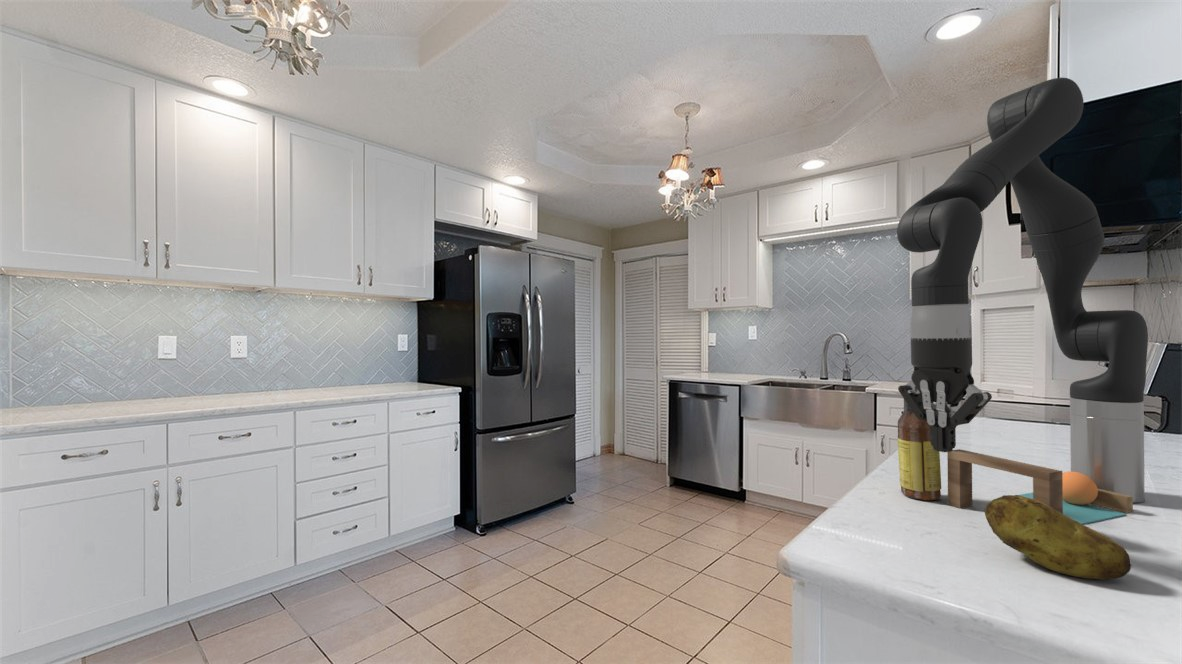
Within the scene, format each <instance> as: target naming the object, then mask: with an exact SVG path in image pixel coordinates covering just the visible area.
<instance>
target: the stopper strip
mask: <svg viewBox="0 0 1182 664" xmlns="http://www.w3.org/2000/svg"><path fill="white" fill-rule="evenodd" d="M1089 505H1092V506H1096V507H1100V508H1104V509H1108V510H1112V511H1116V512H1120V513H1124V514H1126V513H1127V514H1129V513H1133V512H1134V509H1133V508H1134V503H1133V497H1132V496H1128V495H1123V494H1119V493H1115V492H1110V491H1106V490H1101V489H1098V495H1097V497H1096V499H1095V500H1094V501H1093V502H1091V503H1089Z"/></svg>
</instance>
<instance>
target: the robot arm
mask: <svg viewBox="0 0 1182 664" xmlns="http://www.w3.org/2000/svg"><path fill="white" fill-rule="evenodd" d="M1083 96H1084V95H1083V93H1082V90H1081V89H1080V87H1079V85H1078V83H1076V82H1075V81H1074V80H1073V79H1071V78H1068V77H1055V78H1051V79H1048V80H1044V81H1042V82H1039V83H1035V85H1034V84H1033V85H1031V86H1029V87H1027V88H1024V89H1021V90H1018V91H1016V92H1013V93H1011V94H1008V95H1006V96H1004V97H1002V98H1000V99H997V100H995V101H994V102H993V103H992V104H991V105H990V107H989V109H988V113H987V115H986V119H987V120H986V121H987V122H986V124H987V125H986V126H987V129H988V134H989V137H990V140H991V142H989V143H987V144H986V145H985V146H983V147H982V148H980V149H978V150H977V151H975V152H974V153H973V154H971V155H970V156H968V158H966V160H964V161H963V162H962V163H961V164H960V165H959V166H958V167H957V168H956V169H955V170H954V171H953V172H952V174H950V176H949V177H948V178H947V179H946V180H945V182H944V183H943V184H942V185H940V186H939V187H937V188H935V189H934V190H932V191H930V193H927V194H926V195H925V196H924V197H922V198H921V199H919V200H918V201H916V202H915V203H914V204H913V205H911V206H910V207H908V208H907V210H906V211H905V212H904V213H903V215H902V216H901V218H900V219H899V222H898V224H897V228H896V237H897V241H898V243H899V244H900V246H901V247H902V248H903V249H905V250H907V251H909V252H911V253H920V254H921V253H927V252H932V251H933V252H934V251H938V253H937V255H936V257H935V260H934V261H933V262H932V263H930V264H928V265H926V266H923V267H920V268H918V269H916V270H915V271H913V273H912V275H911V278H910V279H911V280H910V283H911V284H910V286H911V287H910V289H911V291H910V292H911V293H910V294H911V295H910V297H911V306H912V307H911V311H910V312H911V313H910V319H909V320H910V321H909V322H910V324H909V325H910V326H909V328H910V329H909V330H910V331H909V332H910V363H911V366H913V372H912V373H911V380H910V381H909V382H907V383H906V384H903V385H899V386H898V387H897V388H898V392H899V394H900V395H901V396H902V398H903V400H904V399H905V401H906V402H907V404H908V405H909V407H910V408H911V410H912V411H913V412H914V414H915V415H916V417H917V418H918V419H923V420H925V421H927V422H928V424H929V425H930V442H931V445H932V446H933V449H934V450H936V451H939V452H942V453H947V452H951V451H952V450H954V449H955V448H956V446H957V445H956V444H957V441H956V438H957V437H956V435H957V434H956V428H957V427H958V426H960V425H966V424H967V425H968V424H970V423H971V422H972V420H974V418H975V417H976V416H977V415H978V414H979V413H980V412H981V411H982V410H983V409H984V408H985V406H986V405H987V404H988V403H989V402H990V401H991V400H992V398H993V396H992V394H991V392H987V391H982V390H981V388H978V387H977V386H976V385H975V380H974V377H973V376H972V373H971V369H972V366H973V345H972V344H973V342H972V341H973V337H972V336H973V334H972V316H971V312H970V304H969V276H970V271H971V269H972V268H971V267H972V265H973V261H974V258H975V253H976V251H977V248H978V244H979V242H980V238H981V235H982V230H983V216H982V212H983V211H985V210H986V209H987V208H989V206H990V205H991V203H993V201H995V199H996V198H997V196H998V195H1000V193H1001V192H1002V191H1003V189H1004V188H1005V187H1006V186H1007V185H1008V184H1009V182H1010V184H1011V187H1012V189H1013V192H1014V195H1015V198H1016V201H1017V204H1018V208H1019V210H1020V213H1021V216H1022V220H1023V222H1024V226H1025V230H1026V234H1027V236H1028V240H1029V243H1030V245H1031V250H1032V252H1033V255H1034V257H1035V258H1036V259H1035V260H1036V262H1037V265H1038V269H1039V271H1040V274H1041V278H1042V282H1043V284H1044V287H1045V291H1046V294H1047V295H1046V296H1047V299H1048V304H1049V310H1050V314H1051V319H1052V324H1053V330H1054V335H1055V338H1056V342H1057V344H1058V347H1059V349H1060V351H1061V353H1062V354H1063V355H1064V356H1065V357H1066V358H1067V359H1070V360H1073V361H1083V362H1101V363H1102V362H1103V363H1105V362H1106V363H1108V366H1107V369H1106V371H1104V372H1103V373H1100V375H1097V376H1094V377H1093V376H1092V377H1090V378H1086V379H1080V380H1076V381H1073V382H1072V383H1070V385H1069V419H1070V421H1069V426H1070V428H1069V429H1070V432H1069V433H1070V435H1069V437H1070V438H1069V439H1070V471H1072V472H1078V473H1082V474H1084V475H1086V476H1088V477H1089V478H1090V479H1092V480H1093V481H1094V483H1095V484H1096V486H1097V489H1101V490H1106V491H1110V492H1115V493H1119V494H1123V495H1128V496H1132V497H1133V504H1134V503H1135V504H1136V503H1143V502H1144V501H1146V500H1145V414H1144V407H1145V405H1144V399H1145V398H1144V393H1145V388H1146V379H1147V358H1148V346H1149V331H1148V326H1147V322H1146V319H1145V318H1144V316H1143V315H1142V314H1141V313H1139V312H1138V311H1135V310H1131V309H1130V310H1128V309H1127V310H1126V309H1124V310H1123V309H1122V310H1121V309H1118V310H1092V311H1090V310H1088V311H1087V310H1086V308H1085V307H1084V302H1083V298H1082V290H1083V286H1084V284H1085V281H1086V279H1087V277H1088V276H1089V274H1090V273H1091V270H1092V269H1093V267H1094V266H1095V264H1096V262H1097V260H1099V256H1100V255H1101V253H1102V250H1103V247H1104V244H1105V233H1104V231H1103V230H1104V229H1103V227H1102V224H1101V223H1102V222H1101V221H1100V220H1101V219H1100V217H1099V214H1098V213H1099V212H1098V211H1097V208H1096V206H1095V203H1094V202H1093V201H1092V200H1091V199H1090V198H1089V197H1088V196H1087V195H1086V194H1085V193H1083V192H1082V191H1080V190H1079V189H1078V188H1076V187H1074V186H1073V185H1071V184H1070V183H1068V182H1067V181H1065V180H1064V179H1062V178H1060V177H1059V176H1058V175H1056V174H1055V173H1054V172H1052V171H1051V170H1050V169H1049V168H1048V167H1047V166H1046V164H1045V163H1044V162H1043V161H1042V158H1041V157H1040V155H1041V154H1042V153H1044V152H1045V151H1046V150H1047V149H1048V148H1049V147H1051V146H1052V145H1053V144H1055V143H1056V142H1057V141H1059V140H1060V139H1061V138H1062V137H1064V136H1065V135H1066V134H1068V133H1069V132H1070V131H1072V129H1074V127H1076V126H1077V124H1078V123H1079V122H1080V119H1081V117H1082V115H1083V111H1084V106H1085V105H1084V97H1083ZM963 399H964V400H965V402H964V403H963V404H962V400H963Z"/></svg>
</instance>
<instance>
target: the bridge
mask: <svg viewBox="0 0 1182 664" xmlns="http://www.w3.org/2000/svg"><path fill="white" fill-rule="evenodd" d="M946 453H947V505H949V506H951V507H956V508H959V509H964V508H968V507H973V465H978V466H980V467H981V466H983V467H986V468H990V469H994V470H999V471H1004V472H1008V473H1012V474H1017V475H1020V476H1025V477H1030V478H1032V487H1033V488H1032V493H1033V499H1035V500H1038V501H1040V502H1043V503H1045V504H1046V505H1048V506H1050V507H1052V508H1053V509H1055V510H1056V511H1058V512H1060V513H1062V514H1063V481H1062V473H1063V470H1059V469H1055V468H1051V467H1045V466H1041V465H1036V464H1032V463H1026V462H1021V461H1017V460H1013V459H1007V458H1004V457H1003V458H1002V457H997V456H993V455H988V454H984V453H979V452H975V451H970V450H965V449H958V448H957V449H953V450H952V451H951V452H946Z"/></svg>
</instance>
